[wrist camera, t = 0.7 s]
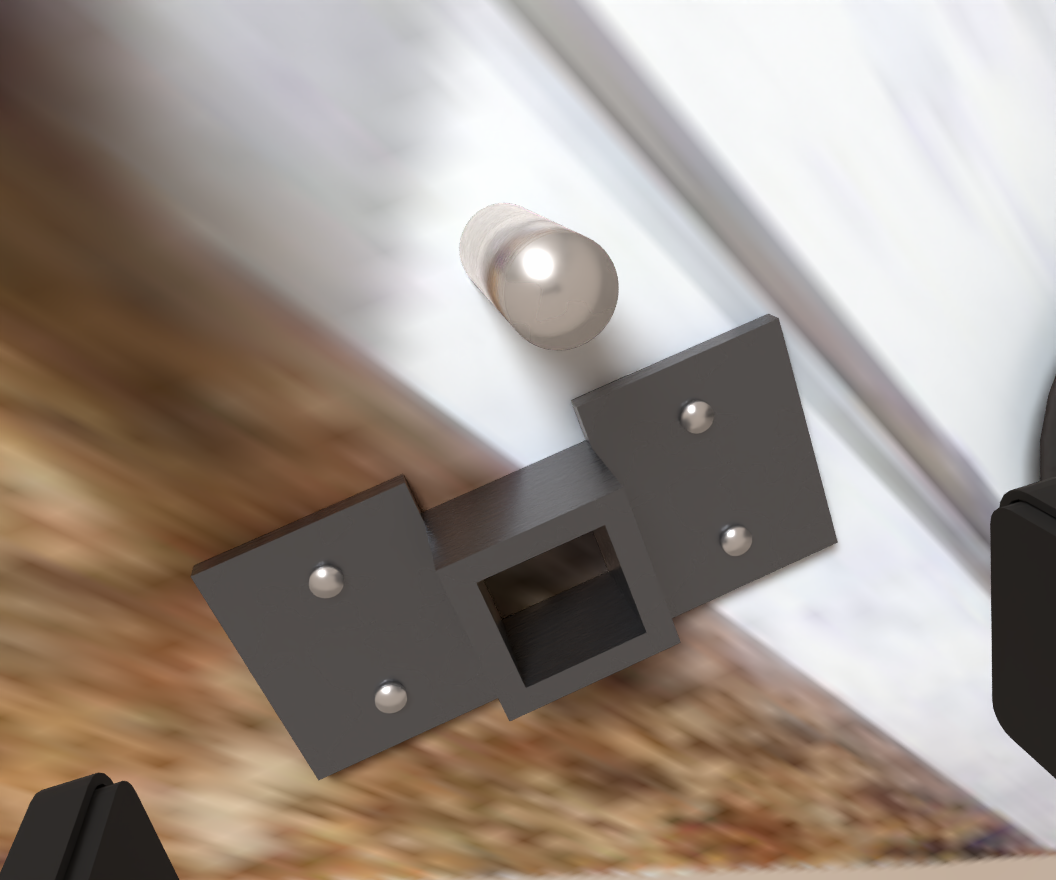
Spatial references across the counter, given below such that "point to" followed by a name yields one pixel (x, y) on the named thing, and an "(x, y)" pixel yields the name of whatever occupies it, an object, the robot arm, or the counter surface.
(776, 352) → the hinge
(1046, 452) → the casserole
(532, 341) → the pin
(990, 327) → the counter surface
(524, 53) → the counter surface
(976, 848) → the counter surface
